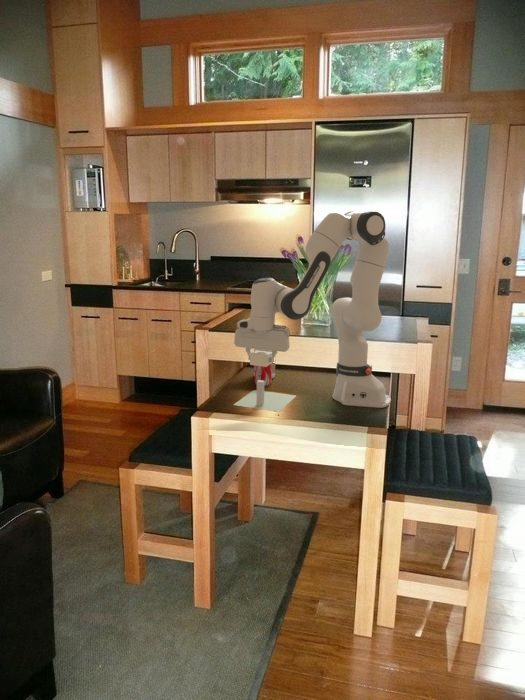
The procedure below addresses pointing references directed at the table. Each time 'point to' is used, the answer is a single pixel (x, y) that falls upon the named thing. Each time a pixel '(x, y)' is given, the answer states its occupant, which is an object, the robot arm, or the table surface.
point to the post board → (265, 399)
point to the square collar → (260, 358)
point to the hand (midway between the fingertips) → (261, 360)
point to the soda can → (263, 374)
